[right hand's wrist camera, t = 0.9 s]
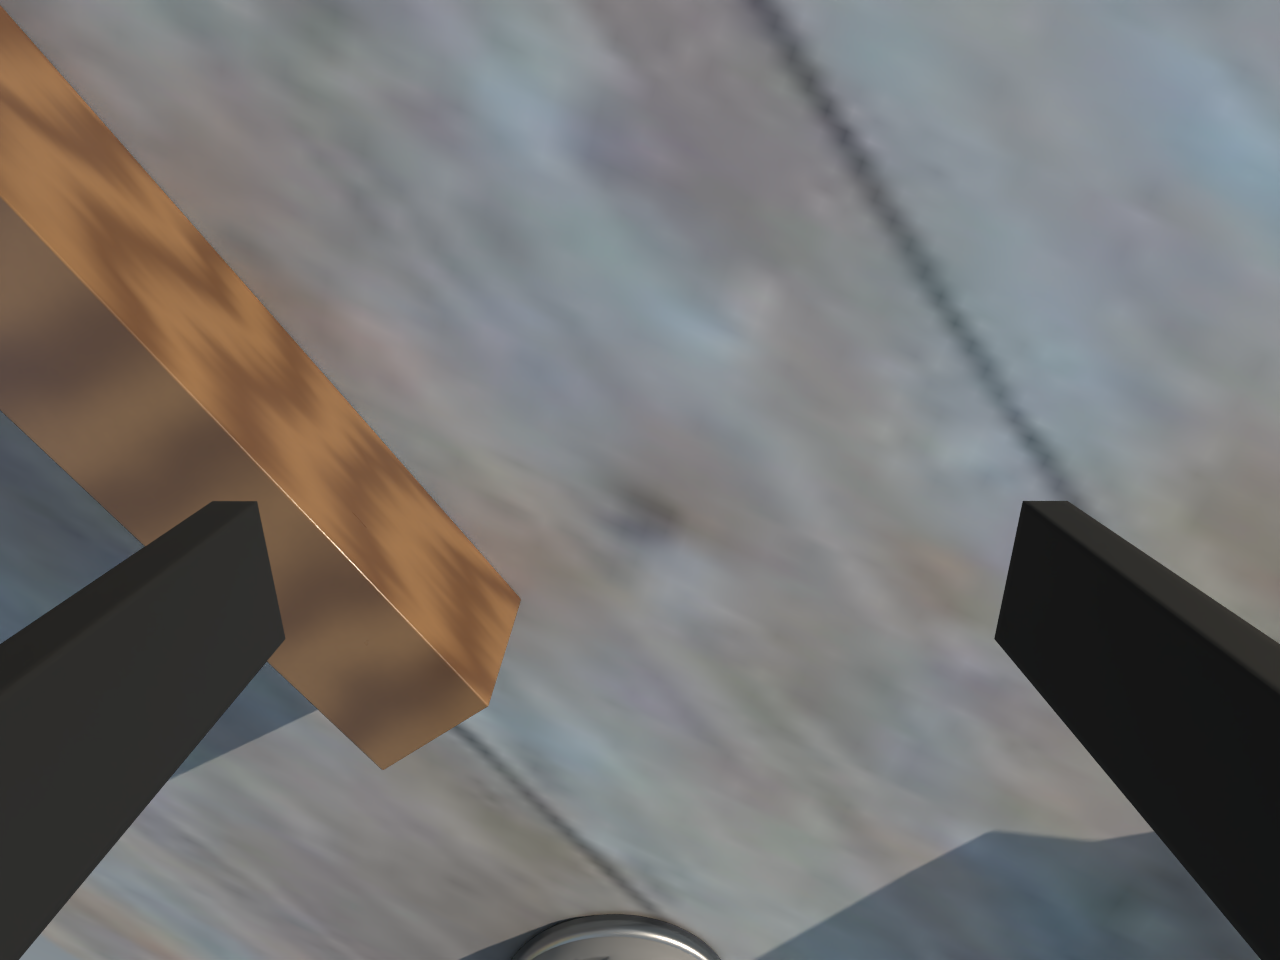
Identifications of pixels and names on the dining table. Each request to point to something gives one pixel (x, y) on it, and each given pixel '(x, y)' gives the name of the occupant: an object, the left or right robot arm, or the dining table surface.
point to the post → (225, 425)
